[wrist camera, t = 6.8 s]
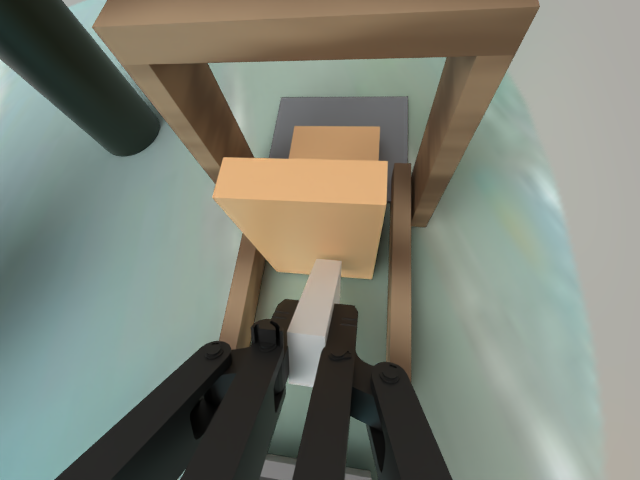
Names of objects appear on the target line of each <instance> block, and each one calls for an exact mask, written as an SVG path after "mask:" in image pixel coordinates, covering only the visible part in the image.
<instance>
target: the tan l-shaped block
mask: <svg viewBox="0 0 640 480" xmlns="http://www.w3.org/2000/svg"><path fill="white" fill-rule="evenodd" d="M379 141H380V127H373V126H294V131H293V137H292V143H291V148H290V154H289V159H276V158H232V157H223V160H222V164H221V167H220V171H219V175H218V178H217V182H216V186H215V189H214V193H213V197H212V198H213V199H214V200H215V201H216V202H217V204H218V205H219V206H220V207H221V208H222V209H223V211H224V212H225V213H226V214H227V215H228V216H229V217H230V219H231V220H232V221H233V222H234V223H235V224H236V225H237V227H238V228H239V229H240V230H241V231H242V232H243V233H244V235H245V236H246V237H247V238H248V239H249V240H250V241H251V243H252V244H253V245H254V246H255V247H256V248H257V250H258V251H259V252H260V253H261V254H262V255H263V256H264V258H265V259H266V260H267V261H268V262H269V263H270V264H271V266H272V267H273V268H274V269H275V270H276V271H277V272H284V273H297V274H310V273H311V270H312V268H313V265H314V263H315V260H316V259H326V260H338V261H342V266H341V277H348V278H361V279H372V277H373V271H374V266H375V261H376V256H377V251H378V246H379V241H380V235H381V230H382V225H383V220H384V215H385V210H386V202H387V171H388V161H379Z"/></svg>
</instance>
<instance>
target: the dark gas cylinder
mask: <svg viewBox="0 0 640 480" xmlns="http://www.w3.org/2000/svg"><path fill="white" fill-rule="evenodd" d="M0 59H1V60H2V61H3V62H4V63H5V64H7V65H8V66H9V67H10V68H11V69H13V70H14V71H15V72H16V73H17V74H18V75H20V76H21V77H22V78H23V79H24V80H25V81H27V82H28V83H29V84H30V85H31V86H32V87H34V88H35V89H36V90H37V91H38V92H39V93H41V94H42V95H43V96H44V97H45V98H46V99H48V100H49V101H50V102H51V103H52V104H54V105H55V106H56V107H57V108H58V109H59V110H61V111H62V112H63V113H64V114H65V115H66V116H68V117H69V118H70V119H71V120H72V121H73V122H75V123H76V124H77V125H78V126H79V127H80V128H82V129H83V130H84V131H85V132H86V133H88V134H89V135H90V136H91V137H92V138H93V139H95V140H96V141H97V142H98V143H99V144H100V145H102V146H103V147H104V148H105V149H106V150H107V151H109V152H110V153H112V154H114V155H117V156H128V155H132V154H135V153H138V152H140V151H142V150H143V149H145V148H146V147H147V146H149V145H150V144H151V143H152V142H153V140H154V139H155V137H156V136H157V133H158V130H159V121H158V119H157V117H156V116H155V114H154V113H153V112H152V111H151V109H150V108H149V107H148V106H147V105H146V103H145V102H144V101H143V100H142V98H141V97H140V96H139V95H138V93H137V92H136V91H135V90H134V89H133V87H132V86H131V85H130V84H129V82H128V81H127V80H126V79H125V77H124V76H123V75H122V74H121V72H120V71H119V70H118V69H117V68H116V66H115V65H114V64H113V63H112V61H111V60H110V59H109V58H108V56H107V55H106V54H105V53H104V52H103V50H102V49H101V48H100V47H99V45H98V44H97V43H96V42H95V40H94V39H93V38H92V37H91V36H90V34H89V33H88V32H87V31H86V29H85V28H84V27H83V26H82V24H81V23H80V22H79V21H78V19H77V18H76V17H75V16H74V15H73V13H72V12H71V11H70V10H69V8H68V7H67V6H66V5H65V4H64V2H63V1H62V0H0Z"/></svg>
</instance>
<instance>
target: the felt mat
mask: <svg viewBox="0 0 640 480" xmlns="http://www.w3.org/2000/svg"><path fill="white" fill-rule="evenodd" d="M294 126H373V127H380V141H379V161H388V171H387V202H386V203H390V202H391V178H392V173H393V168H394V163H408V96H406V97H281V102H280V106H279V111H278V116H277V121H276V126H275V131H274V135H273V140H272V145H271V150H270V155H269V158H276V159H289V154H290V148H291V143H292V137H293V131H294Z"/></svg>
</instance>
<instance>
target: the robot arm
mask: <svg viewBox="0 0 640 480" xmlns="http://www.w3.org/2000/svg"><path fill="white" fill-rule="evenodd" d="M341 266H342V261H338V260H326V259H316V260H315V263H314V265H313V268H312V270H311V273H310V275H309V278H308V280H307V283H306V285H305V288H304V290H303V293H302V295H301V298H300V300H289V299H285V300H283V301H282V302H281V303H279V304H278V306H277V308H276V310H275V312H274V314H273V316H272V318H271V319H264V320H260V321H258V322H256V323H254V324H253V325H252V326H251V338H252V345H251V346H250V347H247V348H241V349H233V350H231V347H230V345H229V344H228V343H226V342H223V341H214V342H210V343H207V344H205V345H204V346H202V347H201V348H200V349H199V350H198V351H197V352H195V353H194V354H193V355H192V356H191V357H190V358H189V359H188V360H187V361H185V362H184V363H183V364H182V365H181V366H180V367H179V368H178V369H177V370H175V371H174V372H173V373H172V374H171V375H170V376H169V377H168V378H167V379H165V380H164V381H163V382H162V383H161V384H160V385H159V386H158V387H157V388H155V389H154V390H153V391H152V392H151V393H150V394H149V395H148V396H147V397H146V398H144V399H143V400H142V401H141V402H140V403H139V404H138V405H137V406H136V407H134V408H133V409H132V410H131V411H130V412H129V413H128V414H127V415H126V416H124V417H123V418H122V419H121V420H120V421H119V422H118V423H117V424H116V425H114V426H113V427H112V428H111V429H110V430H109V431H108V432H107V433H106V434H104V435H103V436H102V437H101V438H100V439H99V440H98V441H97V442H96V443H95V444H93V445H92V446H91V447H90V448H89V449H88V450H87V451H86V452H85V453H83V454H82V455H81V456H80V457H79V458H78V459H77V460H76V461H75V462H73V463H72V464H71V465H70V466H69V467H68V468H67V469H66V470H65V471H63V472H62V473H61V474H60V475H59V476H58V477H57V478H56V479H55V480H177V479H178V478H179V477H180V475H181V474H182V473H183V472H184V470H185V469H186V470H185V472H184V474H183V476H182V477H181V479H180V480H259V478H260V475H261V472H262V469H263V465H264V462H265V459H266V456H267V453H268V449H269V446H270V443H271V440H272V437H273V433H274V430H275V427H276V424H277V420H278V417H279V414H280V411H281V408H282V404H283V401H284V398H285V394H286V382H287V378H288V375H289V384H294V385H301V386H307V387H313V390H312V394H311V399H310V403H309V408H308V412H307V417H306V421H305V425H304V430H303V434H302V439H301V443H300V447H299V452H298V456H297V461H296V465H295V470H294V474H293V478H292V480H345V472H346V460H347V448H348V436H349V424H350V416H351V417H353V418H355V419H357V420H359V421H361V422H363V423H365V424H366V426H367V431H368V435H369V440H370V444H371V449H372V453H373V458H374V462H375V466H376V471H377V475H378V480H452V477H451V475H450V473H449V470H448V468H447V466H446V463H445V461H444V459H443V456H442V454H441V452H440V449H439V447H438V445H437V442H436V440H435V438H434V435H433V433H432V431H431V428H430V426H429V424H428V421H427V419H426V417H425V414H424V412H423V410H422V407H421V405H420V403H419V400H418V398H417V396H416V393H415V391H414V389H413V386H412V384H411V382H410V379H409V377H408V375H407V373H406V372H405V370H404V369H403V368H402V367H400V366H399V365H397V364H394V363H392V362H381V363H378V364H376V365H375V366H372V365H369V364H367V363H365V362H364V361H362V360H361V359H360V358H359V357H358V356H357V354H356V350H355V347H356V334H357V320H358V311H357V309H356V308H355V306H353V305H344V304H339V303H340V289H341Z"/></svg>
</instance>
